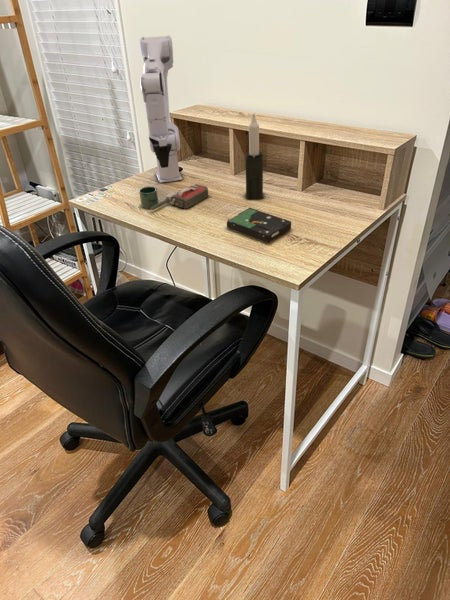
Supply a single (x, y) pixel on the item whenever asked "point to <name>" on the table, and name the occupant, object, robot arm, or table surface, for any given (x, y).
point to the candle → (254, 163)
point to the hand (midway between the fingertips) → (162, 163)
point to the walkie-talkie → (185, 197)
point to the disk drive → (259, 225)
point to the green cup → (148, 197)
